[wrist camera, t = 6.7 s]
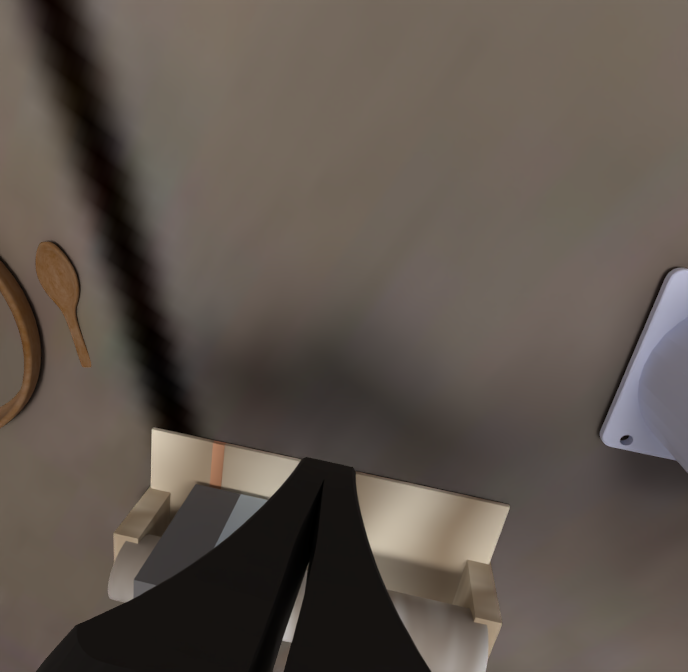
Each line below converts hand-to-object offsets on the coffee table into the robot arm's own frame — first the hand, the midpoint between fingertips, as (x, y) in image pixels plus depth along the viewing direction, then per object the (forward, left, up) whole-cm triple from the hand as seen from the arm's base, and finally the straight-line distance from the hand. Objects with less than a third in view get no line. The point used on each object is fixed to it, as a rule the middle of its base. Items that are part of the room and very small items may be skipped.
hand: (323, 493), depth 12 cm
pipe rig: (0, +12, -10) cm, 16 cm away
